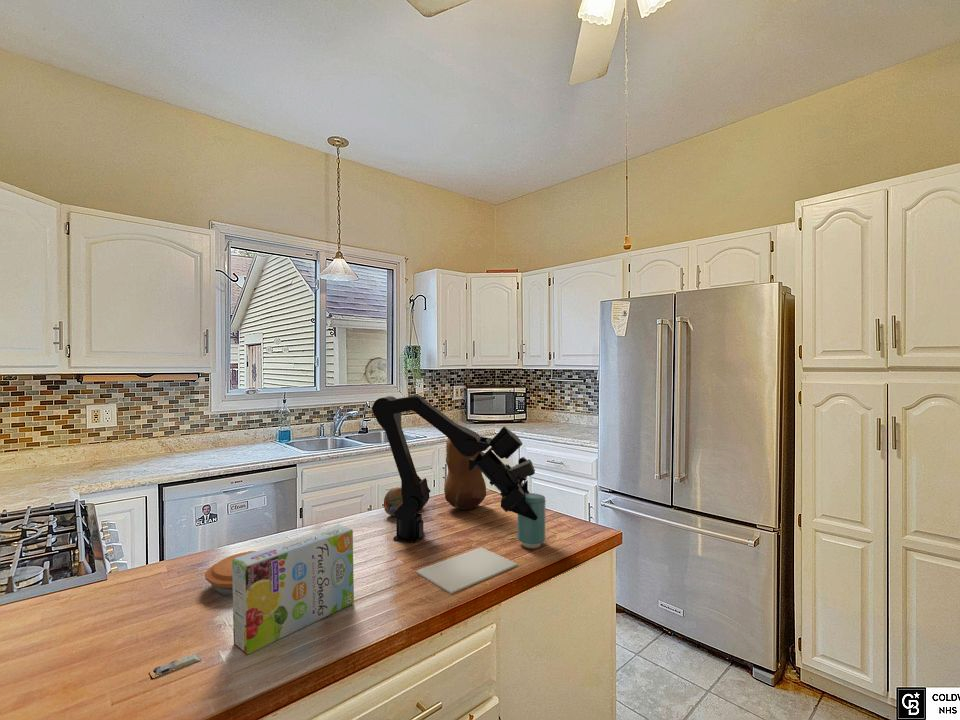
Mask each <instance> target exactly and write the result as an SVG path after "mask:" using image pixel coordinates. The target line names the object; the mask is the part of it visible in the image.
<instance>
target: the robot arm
mask: <svg viewBox="0 0 960 720" xmlns="http://www.w3.org/2000/svg"><path fill="white" fill-rule="evenodd" d="M371 411H372V414H373V416H374V418H375V420H376V422H377V423H378V425H379V426H380V427H381V428H382V429H383V431H384V432H385V435H386V438H387V440H388V443H389V447H390V450H391V452H392V456H393V459H394V462H395V465H396V468H397V471H398V475H399V478H400V480H401V481H400V483H401V485H400V486H401V496H402V502H403V504H402V505H401V506H400V507H399V508H398V509H397V510H396V511H395V512H394V514H395V516H394V517H395V519H396V525H395V526H396V533H395V534H396V535H395V536H394V537H393V538H392V539H393V540H394V541H400V542H404V543H405V542H407V543H413V544H414V543H417V541H418V540H420V539H421V538H422V537H423V536H425V532H424V520H423V513H420V512H421V511H422V509H423V508H425V506H426V505H427V504H428V502H429V500H430V493H431V489H430V488H429V486H428V480H427V478H425V477H424V478H423V479H422V478H421V477H420V476H419V475H418V473H417V470H416V468H415V465H414V461H413V458H412V455H411V451H410V448H409V446H408V444H407V443H408V442H407V439H406V436H405V434H404V431H403V428H402V413H405V412H412V411H413V412H414V413H416V414H417V415H418V416H420V417H421V418H422V419H423V420H425V421H426V422H427V423H428V424H430V425H431V426H432V427H434V428H436V429H437V430H438V431H439V432H440V433H441V434H443V435H445V437H447V439H448V438H449V440H450V441H451V443H452V444H453V445H454V447H455V448H456V449H457V450H458V451H459V452H460V453H461V454H462V455H464V456H466V457H470V456H473V455H475V454H476V453H477V452H480V451H482V452H480V453H479V454H478V455H477V456H476V457H475V458H470V459H469V470H472V469H473V468H474V467H475V466H477V467H478V468H479V469H480V470H481V472H482V475H483V476H485V477H486V478H487V479H488V480H489V485H491V486H495V488H496V489H497V490H498V491H499V492H500V496H501V500H500V508H502V510H503V511H504V512H505V513H507V512H512V513H515V514H517V515H518V514H520V515H522V516H525V517H527V518H530V519H532V520H536V519H537V518H538V517H537V515H536V514H535V512H534V511H533V510H532V508H531V507H530V505H529V504H528V502H527V501H526V493H530V491H529V489H528V486H529V481H528V480H527V479H528V477H531V476H534V475H535V473H536V469H535V467H534V465H533V462H532V460H531V459H530V458H529V459H527V458H525V457H524V456H523V457H520V458H518V464H515V465H514V466H511V465H509V464H507V463H506V464H505V463H504V462H503V461H502V460H503V459H506V460H508V459H509V458H510V457H512V455H513V454H515V452H516V451H518V449H520V448H521V447H522V446H523V441H522V440H521V439H520V437H518V435H517V434H516V433H515V432H513V431H511V430H510V429H508V427H506V425H505V426H503V427H502V428H501V429H500V430H499V432H498V433H496V434H495V436H493V437H492V438H491V437H485V436H481V435H480V434H479V433H477V432H476V431H474V430H472V429H470V428H469V427H468V428H467V427H465V426H463V425H460V424H458V423H457V422H455V421H453V420H452V419H451V418H450V417H448V416H447V415H446V414H444V413H443V412H442V411H440V410H439V409H437V408H436V407H435V406H434V405H432V403H430V402H428V401H427V400H426V399H425V398H424V396H422V395H420V394H419V395H418V394H417V395H412V396H407V397H398V398H397V397H395V396H392V395H389V396H383V397H380V398H378V399H376V400H375V401H374V402H373V404H372V405H371ZM485 451H486V452H485ZM484 452H485V453H484ZM501 459H502V460H501Z"/></svg>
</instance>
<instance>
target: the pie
mask: <svg viewBox="0 0 960 720" xmlns="http://www.w3.org/2000/svg"><path fill="white" fill-rule="evenodd" d="M255 551H256V550H251V551H245V552H240V553H235V554H233V555H229V556H227V557H225V558H223V559H221V560H219V561H218V562H216V563H215V564H213V565H211V566H210V567H209V568H208V569H207V570H206V571H205V572H204V578H205V581H207V582H208V583H210V585H211V586H212V588H214V590H215V591H216V592H217V593H219V595H223V596H229V597H230V596H231V597H233V577H232V560H233V559H234V558H237V557H240V556H243V555H246V554H249V553H252V552H255Z"/></svg>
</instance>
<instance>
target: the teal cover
mask: <svg viewBox="0 0 960 720" xmlns="http://www.w3.org/2000/svg"><path fill="white" fill-rule="evenodd" d="M526 501H527V502H528V504H529V505H530V507H531V508H532V510H533V511H534V512H535V514H536V515H537V517H538V518H537V519H536V520H532V519H530V518H527V517H525V516H522V515H520V514H517V540H518V541H519V542H521V543H522V542H523V543H526V544H540V543H541V544H542V543H544V542H545V541H546V498H545V496H544V495H543V494H540V493H533V492H532V493H531V492H529V493H526Z"/></svg>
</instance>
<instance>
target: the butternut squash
mask: <svg viewBox="0 0 960 720" xmlns="http://www.w3.org/2000/svg"><path fill="white" fill-rule="evenodd" d="M445 446H446V447H445V454H446V456H445V462H446V466H447V471H448V472H447V475H446V478H445V482H444V488H443V491H444V499H445V501H446V502H447V503H448V504H449V505H451V507H453V508H456V509H459V510H460V509H461V510H463V511H470V510H471V511H472V510H474V509H475V508H477V507H478V506H479V505H480V504H481V503H482V502H483V501H484V500H485V499H486V497H487V486H486V481H485V478H484V475H483V473H482V472H481V470H480V469H479V468H478V467H477V466H475V467H474V468H473V469H472V470H469V459H470V458H475V457H476V456H477V455H478V454H479V453H480V452H483V451H480V452H477V453H476V454H475V455H473V456H470V457H466V456H464V455H462V454H461V453H460V452H459V451H458V450H457V449H456V448H455V447H454V445H453V444H452V443H451V441H450V440H449V438H448V437H447V440H446V444H445Z"/></svg>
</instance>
